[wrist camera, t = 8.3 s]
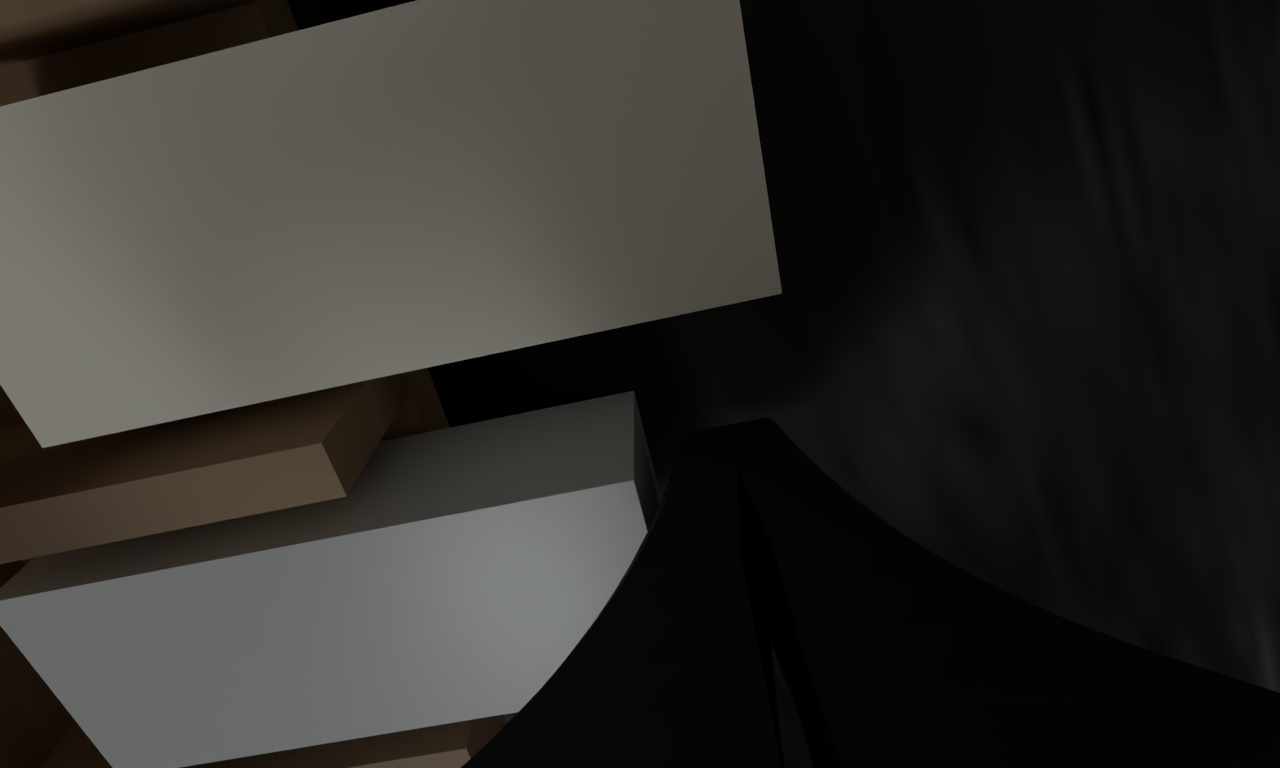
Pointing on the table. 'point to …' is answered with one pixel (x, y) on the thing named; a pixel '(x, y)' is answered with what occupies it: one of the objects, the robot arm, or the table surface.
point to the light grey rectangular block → (349, 595)
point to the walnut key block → (191, 447)
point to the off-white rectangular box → (373, 204)
